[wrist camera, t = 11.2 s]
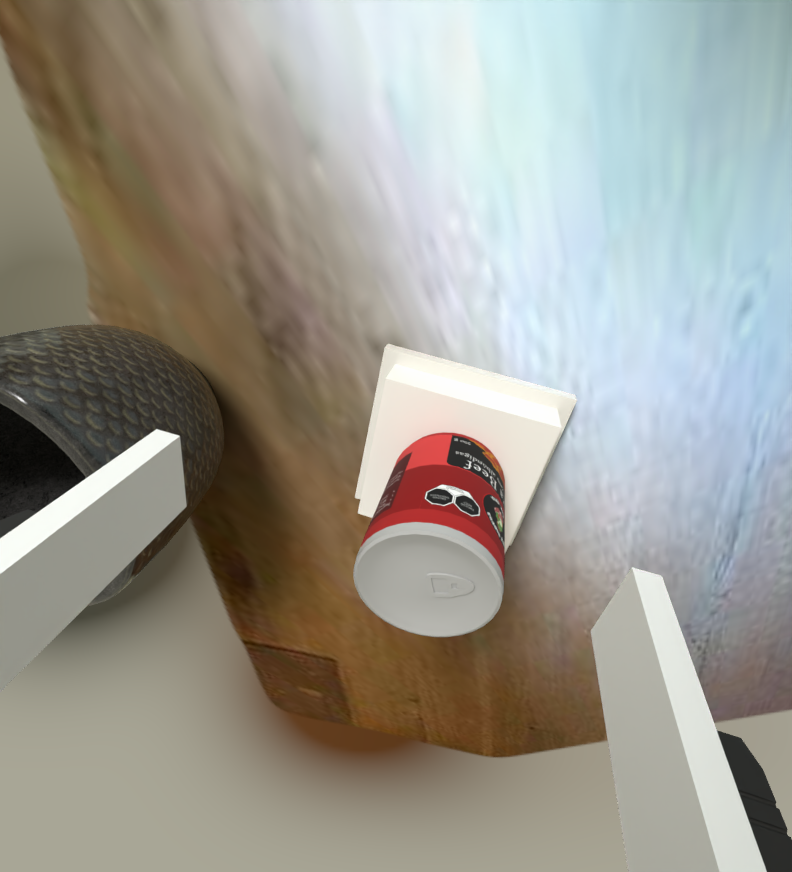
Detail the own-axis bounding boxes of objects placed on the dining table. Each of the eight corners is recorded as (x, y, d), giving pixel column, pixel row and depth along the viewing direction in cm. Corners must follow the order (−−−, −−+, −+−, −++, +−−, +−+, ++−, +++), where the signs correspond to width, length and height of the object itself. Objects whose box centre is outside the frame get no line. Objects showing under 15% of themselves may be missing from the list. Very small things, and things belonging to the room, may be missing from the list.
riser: (387, 343, 34) (374, 360, 30) (575, 394, 32) (583, 418, 29) (358, 491, 41) (344, 518, 37) (511, 537, 39) (511, 570, 36)
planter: (284, 355, 36) (146, 456, 22) (240, 506, 45) (121, 646, 31) (87, 260, 36) (-175, 303, 22) (81, 430, 45) (-109, 537, 31)
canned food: (520, 503, 33) (525, 628, 23) (421, 527, 36) (390, 647, 26) (481, 413, 30) (469, 513, 21) (378, 447, 33) (326, 548, 24)
